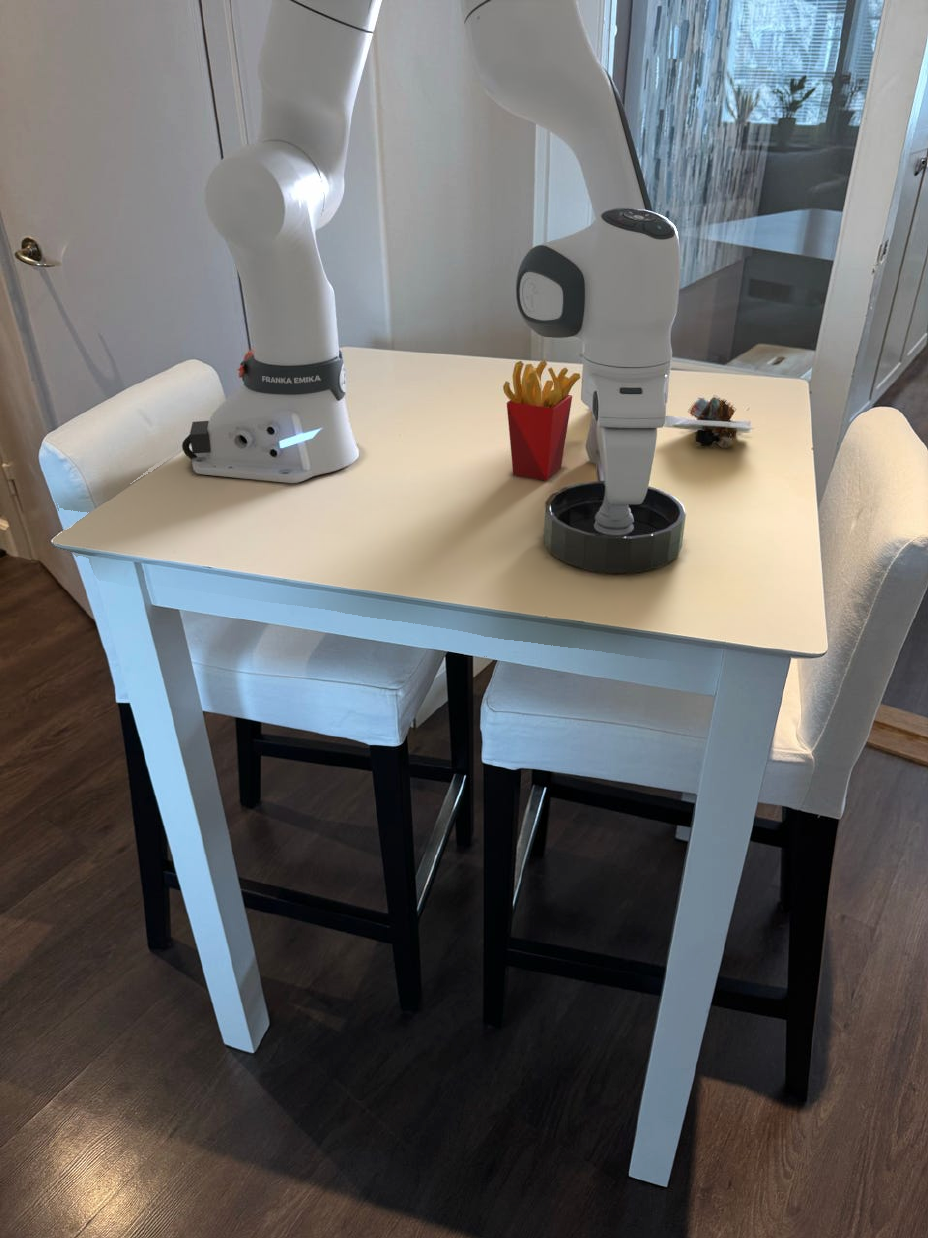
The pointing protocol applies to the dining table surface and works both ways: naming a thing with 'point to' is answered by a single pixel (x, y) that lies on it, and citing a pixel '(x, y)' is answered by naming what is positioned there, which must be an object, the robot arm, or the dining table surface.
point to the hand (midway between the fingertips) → (614, 508)
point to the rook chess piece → (613, 521)
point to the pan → (587, 549)
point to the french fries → (538, 420)
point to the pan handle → (599, 466)
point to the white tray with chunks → (710, 422)
